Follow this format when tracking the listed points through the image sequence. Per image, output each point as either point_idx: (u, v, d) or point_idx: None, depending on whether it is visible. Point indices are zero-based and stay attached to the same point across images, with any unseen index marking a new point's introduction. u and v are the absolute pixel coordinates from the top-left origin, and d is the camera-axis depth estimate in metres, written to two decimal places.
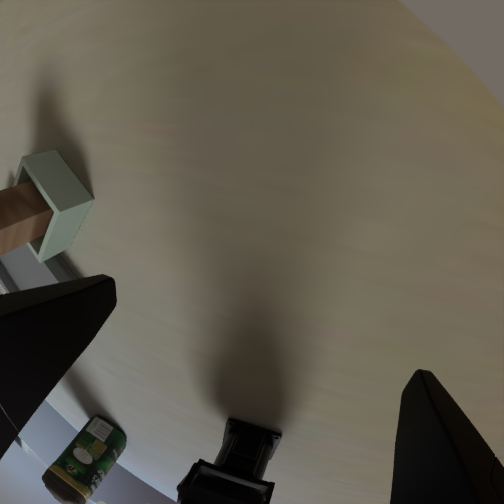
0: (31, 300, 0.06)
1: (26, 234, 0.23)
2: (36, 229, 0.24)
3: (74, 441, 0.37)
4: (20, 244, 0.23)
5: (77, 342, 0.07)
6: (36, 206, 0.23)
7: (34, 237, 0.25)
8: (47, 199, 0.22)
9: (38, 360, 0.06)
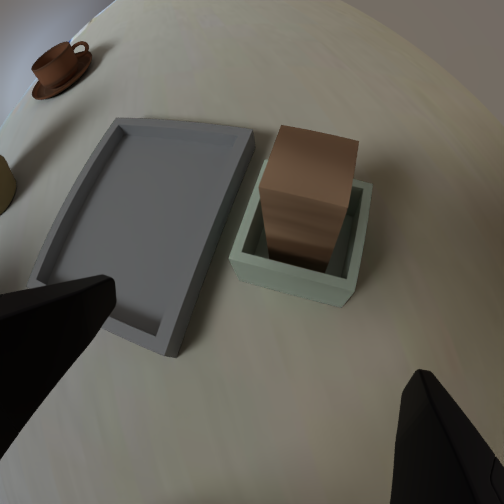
0: (31, 300, 0.06)
1: (292, 234, 0.17)
2: (292, 244, 0.18)
3: None
4: (269, 225, 0.17)
5: (77, 342, 0.07)
6: None
7: (270, 239, 0.19)
8: (355, 259, 0.18)
9: (38, 360, 0.06)
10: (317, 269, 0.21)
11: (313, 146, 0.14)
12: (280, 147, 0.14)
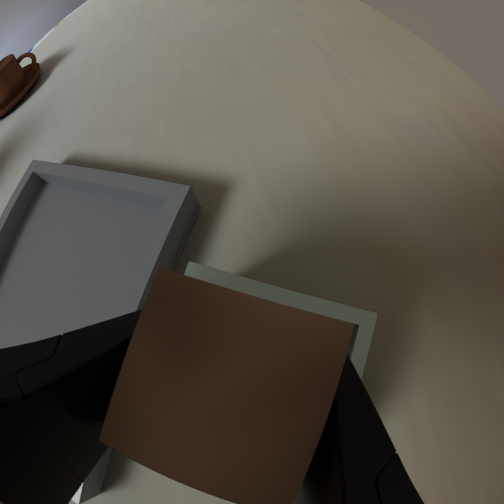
0: (101, 341, 0.05)
1: None
2: None
3: None
4: None
5: None
6: None
7: None
8: None
9: None
10: None
11: (226, 346, 0.05)
12: (147, 343, 0.06)
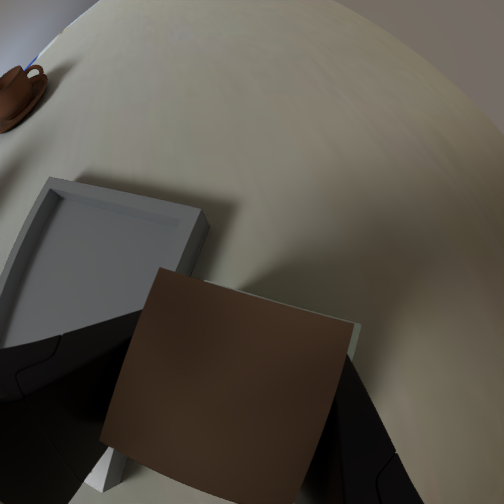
0: (101, 341, 0.05)
1: None
2: None
3: None
4: None
5: None
6: None
7: None
8: None
9: None
10: None
11: (227, 346, 0.06)
12: (148, 343, 0.06)
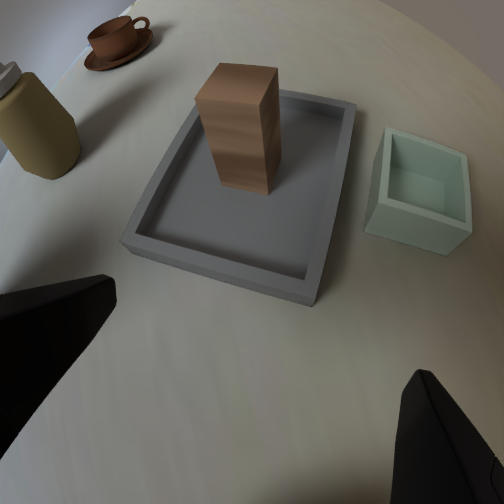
0: (31, 300, 0.06)
1: (229, 145, 0.20)
2: (232, 157, 0.21)
3: None
4: (210, 138, 0.20)
5: (77, 342, 0.07)
6: (268, 152, 0.21)
7: (215, 155, 0.22)
8: (468, 208, 0.18)
9: (38, 360, 0.06)
10: (261, 188, 0.24)
11: (240, 72, 0.17)
12: (215, 75, 0.17)
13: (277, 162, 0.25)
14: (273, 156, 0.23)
